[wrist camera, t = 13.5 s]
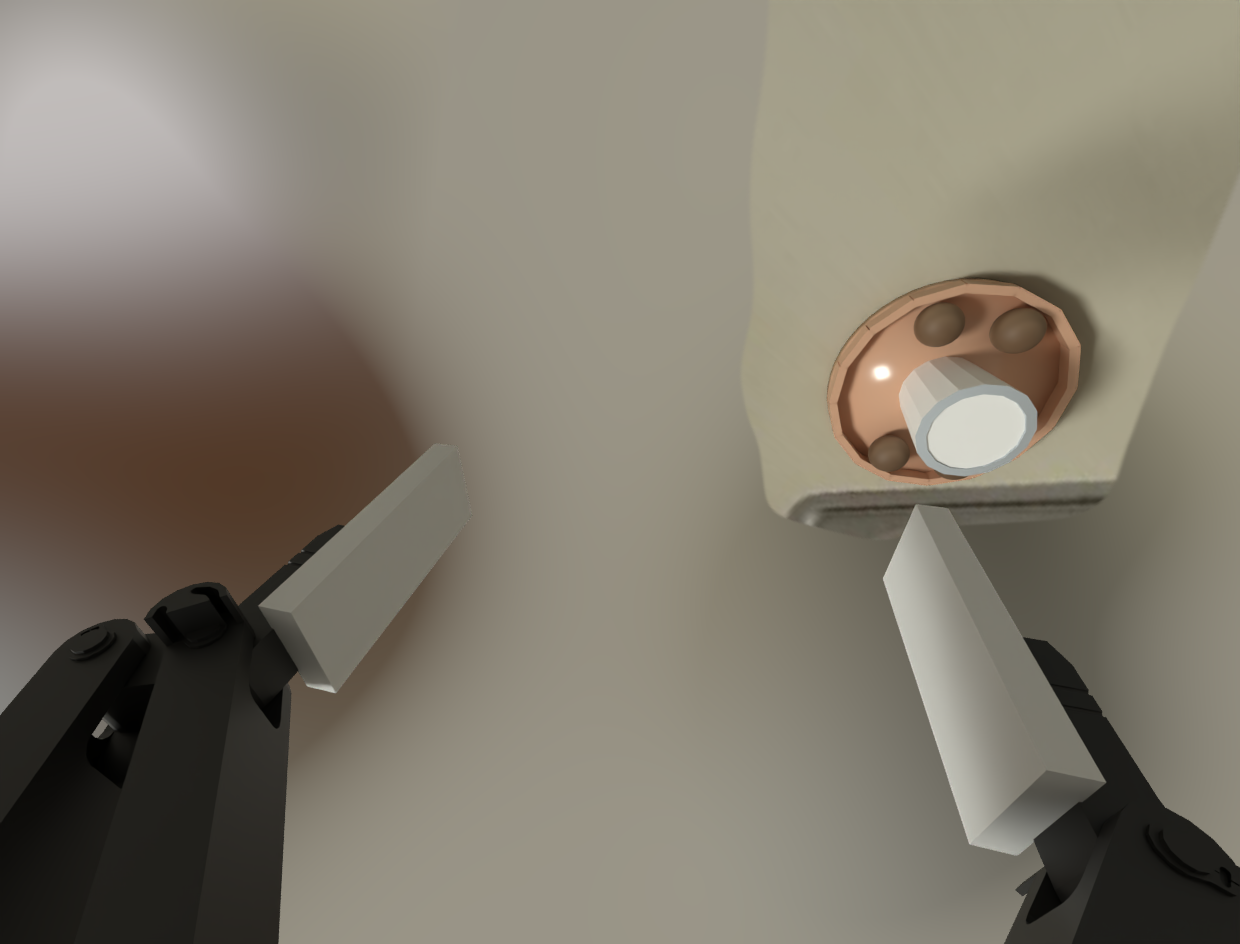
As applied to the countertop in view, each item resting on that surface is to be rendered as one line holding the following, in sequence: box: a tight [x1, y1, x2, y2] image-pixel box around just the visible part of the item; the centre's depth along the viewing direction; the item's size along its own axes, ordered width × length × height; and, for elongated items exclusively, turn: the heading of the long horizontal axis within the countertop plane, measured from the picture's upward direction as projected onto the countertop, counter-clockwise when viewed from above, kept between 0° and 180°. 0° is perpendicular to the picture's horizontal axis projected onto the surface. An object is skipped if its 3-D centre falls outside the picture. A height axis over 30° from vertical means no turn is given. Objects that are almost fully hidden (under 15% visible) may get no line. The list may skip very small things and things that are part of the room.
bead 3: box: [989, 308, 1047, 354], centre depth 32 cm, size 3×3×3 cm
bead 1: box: [868, 435, 910, 472], centre depth 39 cm, size 3×3×3 cm
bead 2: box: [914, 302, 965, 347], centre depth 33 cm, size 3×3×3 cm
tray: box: [827, 278, 1081, 486], centre depth 37 cm, size 16×16×2 cm
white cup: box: [899, 356, 1037, 476], centre depth 34 cm, size 7×7×7 cm
